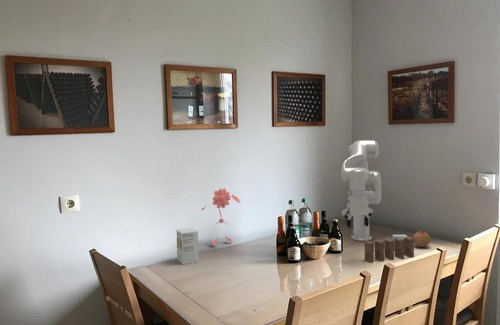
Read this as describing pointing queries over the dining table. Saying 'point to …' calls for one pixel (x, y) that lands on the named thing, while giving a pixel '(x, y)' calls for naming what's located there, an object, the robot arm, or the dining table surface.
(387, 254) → the domino
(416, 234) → the onion
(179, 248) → the supplement box
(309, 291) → the dining table surface
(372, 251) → the domino
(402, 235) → the medicine box
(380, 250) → the domino
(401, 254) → the domino
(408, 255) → the domino
